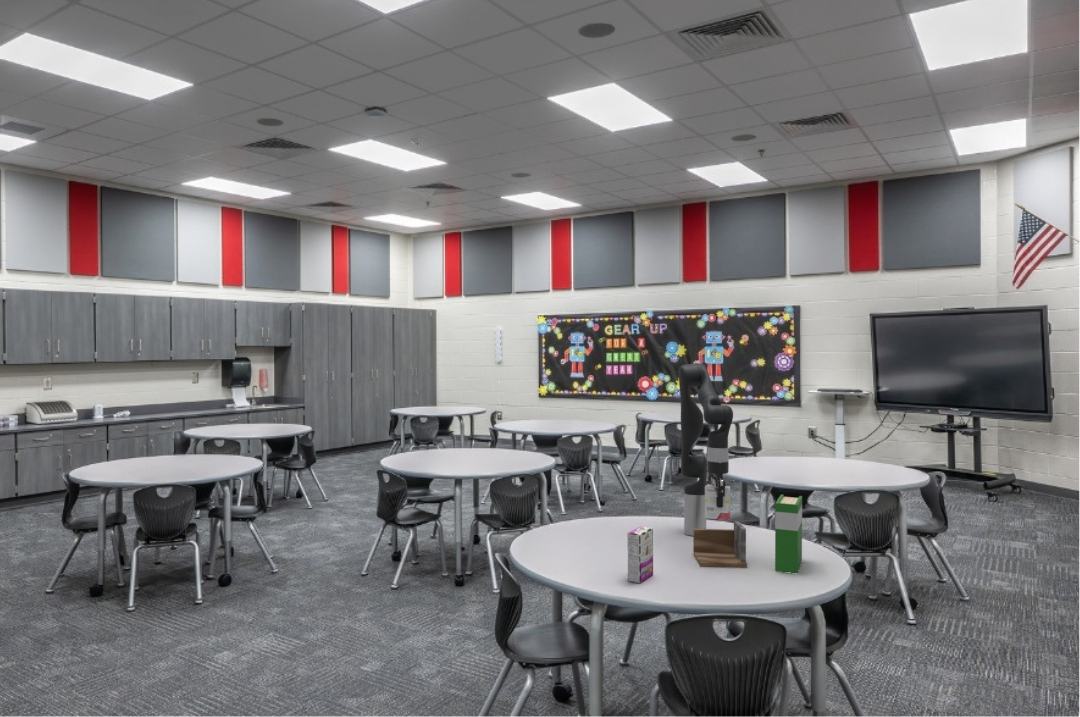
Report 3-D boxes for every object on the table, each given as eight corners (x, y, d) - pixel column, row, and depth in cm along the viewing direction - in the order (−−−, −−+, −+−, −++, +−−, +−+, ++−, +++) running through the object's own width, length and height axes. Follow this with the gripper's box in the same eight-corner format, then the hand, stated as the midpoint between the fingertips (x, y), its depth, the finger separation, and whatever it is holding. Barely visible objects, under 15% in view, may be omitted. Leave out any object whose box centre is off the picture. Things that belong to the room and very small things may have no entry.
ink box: (730, 517, 252) (730, 485, 252) (728, 520, 248) (728, 487, 248) (707, 515, 256) (707, 483, 256) (704, 518, 252) (704, 485, 252)
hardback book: (780, 558, 258) (781, 494, 258) (801, 560, 255) (802, 496, 255) (775, 571, 242) (775, 503, 242) (797, 574, 239) (797, 505, 239)
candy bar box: (640, 572, 239) (640, 525, 240) (653, 575, 237) (653, 527, 237) (626, 581, 230) (626, 532, 230) (640, 584, 227) (640, 534, 227)
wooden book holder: (693, 555, 262) (693, 519, 262) (737, 555, 261) (737, 520, 261) (700, 566, 247) (700, 529, 247) (747, 567, 246) (747, 530, 246)
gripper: (704, 456, 259) (703, 501, 259) (711, 462, 245) (711, 509, 245) (724, 457, 259) (723, 501, 259) (732, 462, 245) (732, 509, 245)
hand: (717, 505), depth 252 cm, fingers closed on ink box, 6 cm apart
